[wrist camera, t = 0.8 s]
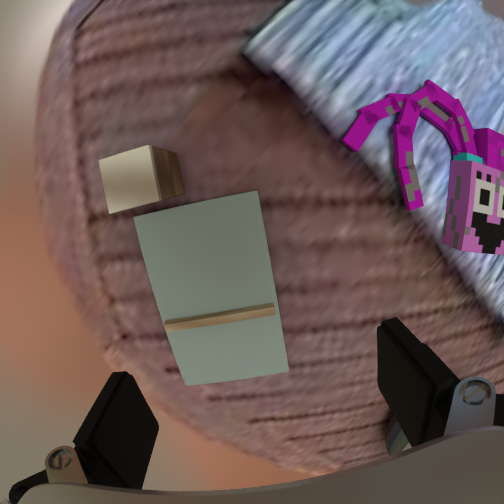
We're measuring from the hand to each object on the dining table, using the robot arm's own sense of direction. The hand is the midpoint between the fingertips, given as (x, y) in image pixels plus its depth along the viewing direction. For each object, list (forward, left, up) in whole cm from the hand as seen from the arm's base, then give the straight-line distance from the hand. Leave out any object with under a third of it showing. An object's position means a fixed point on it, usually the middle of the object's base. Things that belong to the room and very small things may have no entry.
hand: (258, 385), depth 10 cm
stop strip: (+8, -5, -24) cm, 25 cm away
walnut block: (-9, -8, -24) cm, 27 cm away
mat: (+6, -5, -24) cm, 25 cm away
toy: (-6, +25, -25) cm, 35 cm away
